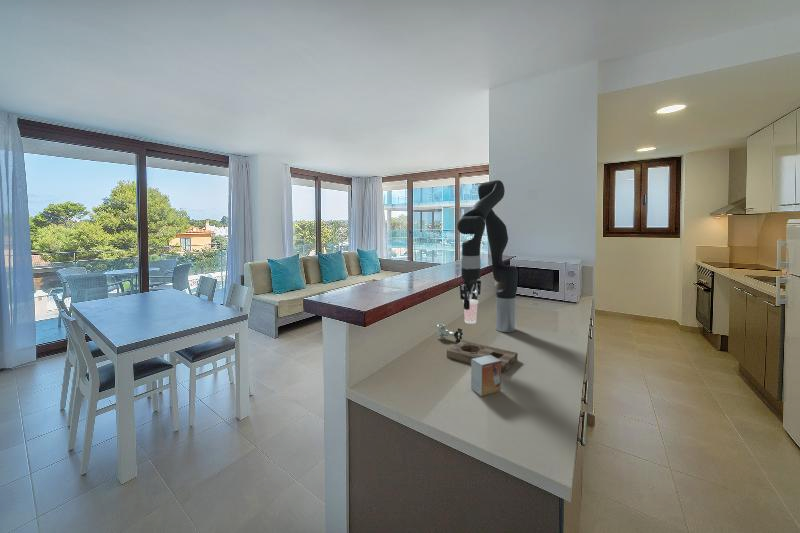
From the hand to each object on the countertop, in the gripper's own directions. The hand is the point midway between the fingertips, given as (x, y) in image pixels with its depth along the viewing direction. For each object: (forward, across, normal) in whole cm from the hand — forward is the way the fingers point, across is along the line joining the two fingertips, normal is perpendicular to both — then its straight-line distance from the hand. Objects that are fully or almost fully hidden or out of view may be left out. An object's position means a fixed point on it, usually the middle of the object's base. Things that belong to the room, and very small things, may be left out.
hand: (470, 307), depth 129 cm
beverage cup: (+6, 0, 0) cm, 6 cm away
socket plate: (+20, 0, +5) cm, 21 cm away
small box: (+21, +22, +17) cm, 35 cm away
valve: (+21, -10, -17) cm, 29 cm away
